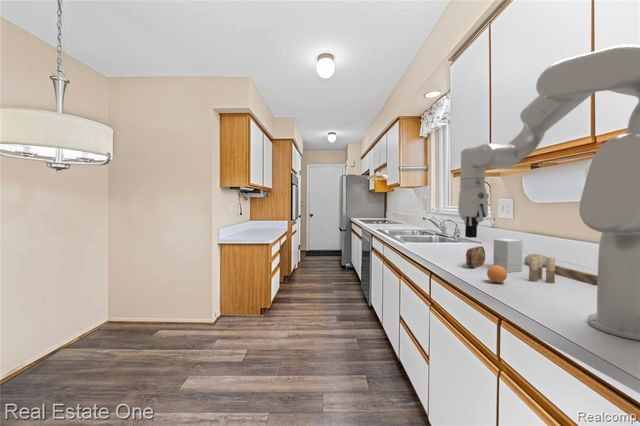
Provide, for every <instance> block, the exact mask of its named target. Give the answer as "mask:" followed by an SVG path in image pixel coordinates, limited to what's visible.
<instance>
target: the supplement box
mask: <svg viewBox="0 0 640 426" xmlns="http://www.w3.org/2000/svg"><path fill="white" fill-rule="evenodd" d="M494 265H498V266H501V267H503V268H504V269H505V270H506V272H507V273H516V272H518V273H519V272H523V240H520V239H513V238H495V239H493V266H494Z"/></svg>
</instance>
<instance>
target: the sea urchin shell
mask: <svg viewBox="0 0 640 426" xmlns="http://www.w3.org/2000/svg"><path fill="white" fill-rule="evenodd" d="M534 255H540V254H539V253H538V254H537V253H531V254H527V255H526V256H525V257H524V262H525V264H526V265H528V266H529V257H534ZM541 255H542V256H543V262H542V268H543V267H544V268H546V258H547V256H546V255H543V254H541Z"/></svg>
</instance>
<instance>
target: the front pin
mask: <svg viewBox="0 0 640 426" xmlns="http://www.w3.org/2000/svg"><path fill="white" fill-rule="evenodd" d="M528 266H529V267H528V281H529V282H538V279H537V267H538V257H529V265H528Z"/></svg>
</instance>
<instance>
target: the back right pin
mask: <svg viewBox="0 0 640 426" xmlns="http://www.w3.org/2000/svg"><path fill="white" fill-rule="evenodd" d="M546 257H547V256H546ZM555 265H556V258H555V257H547V258H546V267H545V282H546V283H548V284H554V283H555V281H556V279H555V278H556V277H555V275H556V274H555Z"/></svg>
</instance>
